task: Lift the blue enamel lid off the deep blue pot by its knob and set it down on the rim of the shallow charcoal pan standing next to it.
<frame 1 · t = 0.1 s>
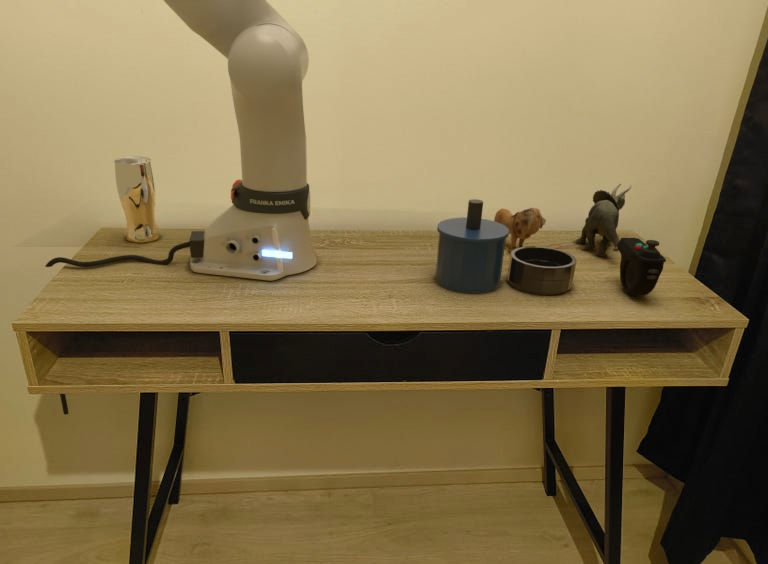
beer glass: (143, 238, 134), on the table
pan: (538, 283, 118), on the table
toy dinosaur: (595, 250, 136), on the table
lid: (472, 231, 114), point 9 cm above the table, touching pot
controller: (631, 292, 117), on the table
lion figurine: (511, 247, 136), on the table
pot: (467, 281, 118), on the table
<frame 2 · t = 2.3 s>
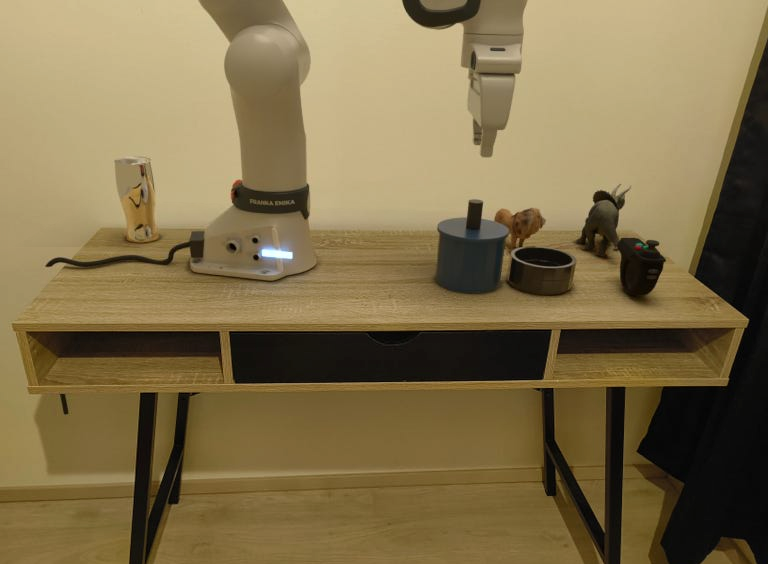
hand: (481, 150, 108), 22 cm above the table, tool pointing down, fingers open, 8 cm apart
nothing on the table moved.
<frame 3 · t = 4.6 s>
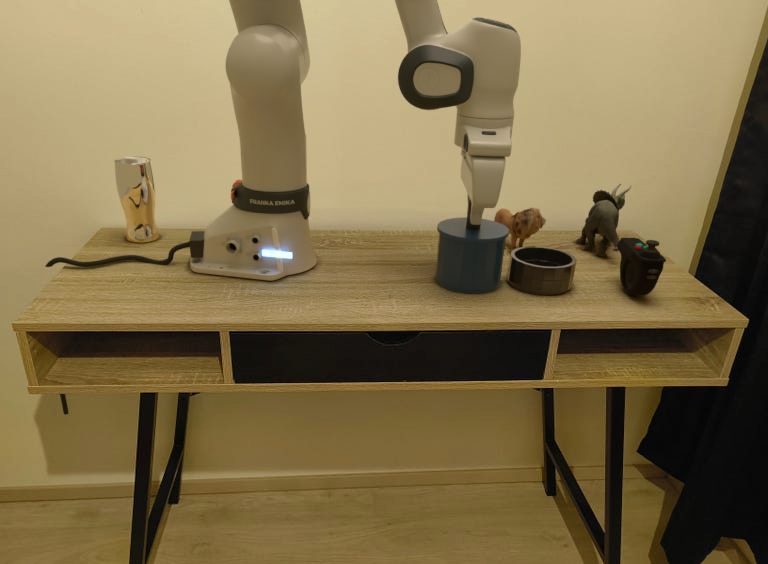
hand: (473, 220, 113), 11 cm above the table, tool pointing down, fingers closed on lid, 2 cm apart
lid: (472, 231, 114), point 9 cm above the table, touching gripper, pot
everything else where it was.
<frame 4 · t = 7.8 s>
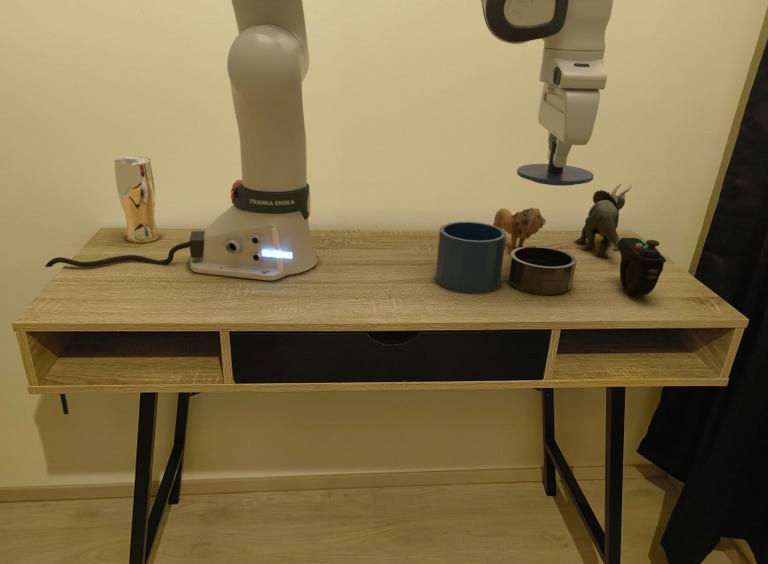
hand: (556, 163, 109), 21 cm above the table, tool pointing down, fingers closed on lid, 2 cm apart
lid: (554, 175, 110), point 19 cm above the table, touching gripper
everything else where it was.
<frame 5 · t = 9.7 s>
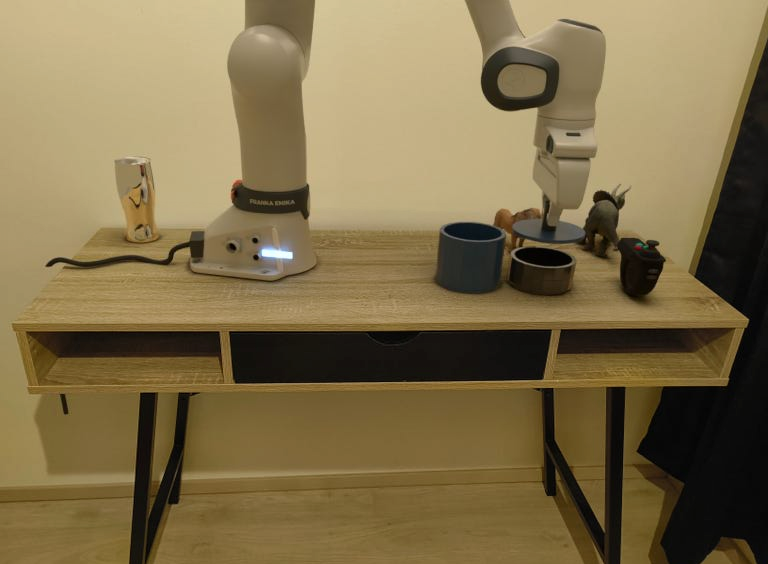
hand: (549, 221, 113), 11 cm above the table, tool pointing down, fingers closed on lid, 2 cm apart
lid: (548, 232, 114), point 9 cm above the table, touching gripper
everything else where it was.
when the fingers open (7 cm above the table, at t = 11.0 s): lid stays where it is, resting on pan.
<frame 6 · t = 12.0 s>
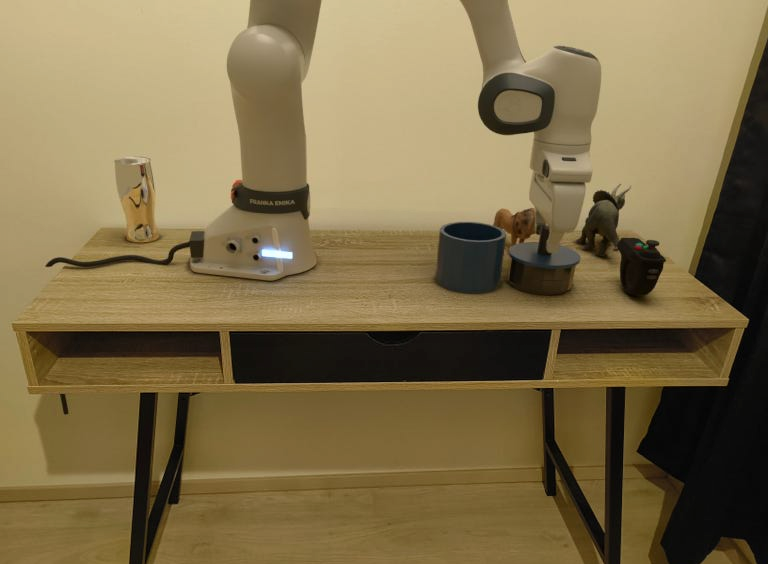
hand: (545, 242, 115), 8 cm above the table, tool pointing down, fingers open, 8 cm apart
lid: (543, 256, 116), point 5 cm above the table, touching pan
everything else where it was.
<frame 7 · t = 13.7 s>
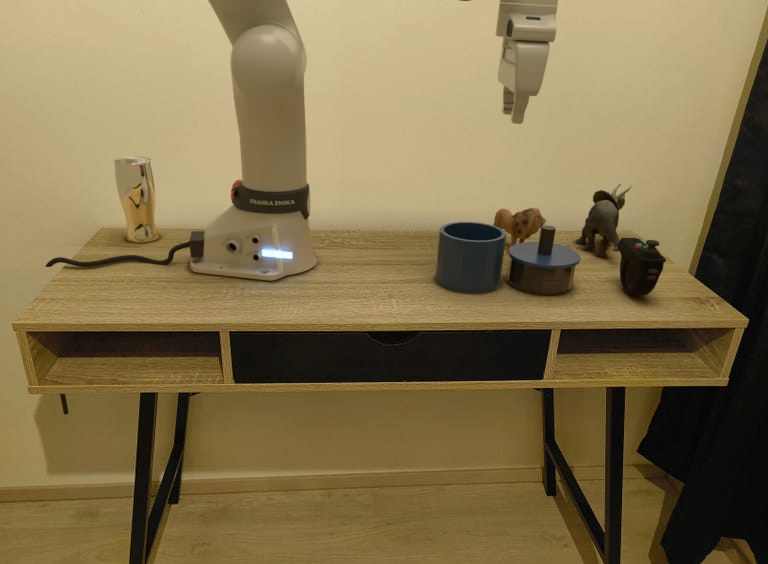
hand: (511, 118, 113), 26 cm above the table, tool pointing down, fingers open, 8 cm apart
nothing on the table moved.
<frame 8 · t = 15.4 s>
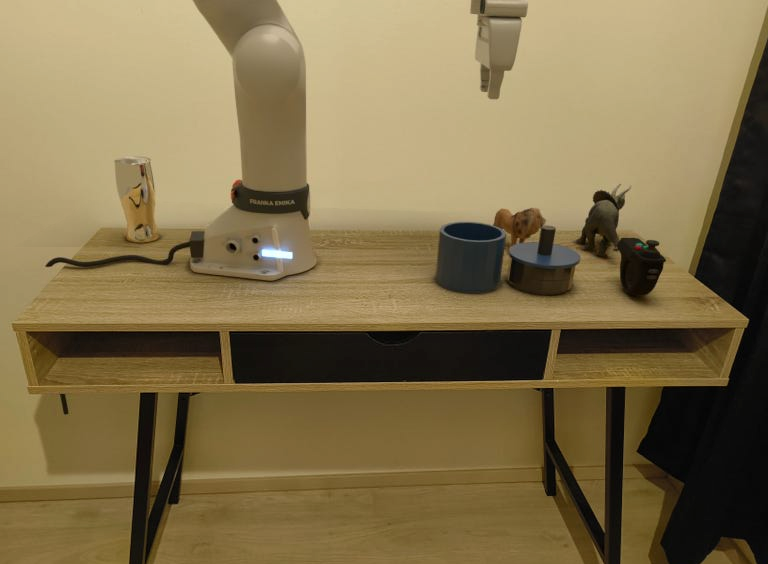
hand: (488, 95, 115), 29 cm above the table, tool pointing down, fingers open, 8 cm apart
nothing on the table moved.
at the end: lid 0.1 cm off-centre on the pan, point 5.0 cm above the pan's base; lid tilted 0°; the gripper is holding nothing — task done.
